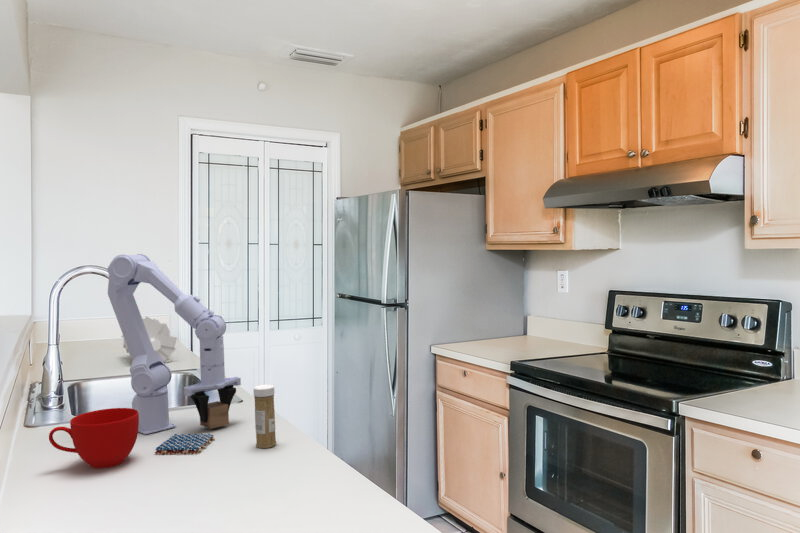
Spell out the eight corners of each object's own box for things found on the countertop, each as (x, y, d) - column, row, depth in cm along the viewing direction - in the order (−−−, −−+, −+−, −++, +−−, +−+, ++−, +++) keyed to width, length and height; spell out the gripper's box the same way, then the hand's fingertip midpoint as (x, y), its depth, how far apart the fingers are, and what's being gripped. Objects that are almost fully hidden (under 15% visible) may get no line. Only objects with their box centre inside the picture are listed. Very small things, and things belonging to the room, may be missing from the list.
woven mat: (152, 457, 130) (151, 448, 130) (172, 441, 141) (172, 433, 141) (199, 457, 130) (198, 448, 130) (216, 441, 140) (216, 432, 140)
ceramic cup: (54, 461, 128) (52, 415, 128) (140, 448, 135) (138, 404, 135) (45, 482, 116) (43, 431, 116) (140, 467, 123) (138, 419, 123)
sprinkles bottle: (279, 446, 134) (277, 386, 134) (259, 450, 131) (257, 389, 131) (271, 440, 138) (269, 382, 137) (252, 445, 135) (250, 386, 135)
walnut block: (200, 425, 149) (199, 405, 149) (218, 420, 153) (217, 401, 153) (210, 428, 146) (209, 408, 146) (228, 424, 150) (228, 404, 150)
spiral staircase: (144, 377, 234) (132, 364, 255) (185, 353, 242) (171, 342, 263) (120, 337, 228) (110, 328, 249) (164, 314, 236) (151, 306, 257)
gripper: (193, 371, 141) (195, 428, 142) (246, 362, 152) (248, 415, 152) (178, 368, 146) (180, 423, 146) (231, 358, 156) (233, 410, 157)
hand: (214, 418), depth 150 cm, fingers closed on walnut block, 5 cm apart
